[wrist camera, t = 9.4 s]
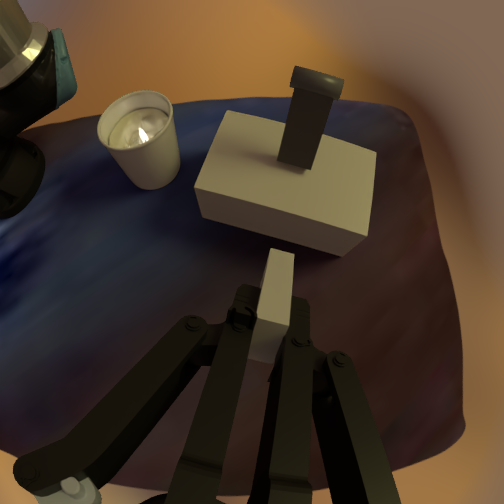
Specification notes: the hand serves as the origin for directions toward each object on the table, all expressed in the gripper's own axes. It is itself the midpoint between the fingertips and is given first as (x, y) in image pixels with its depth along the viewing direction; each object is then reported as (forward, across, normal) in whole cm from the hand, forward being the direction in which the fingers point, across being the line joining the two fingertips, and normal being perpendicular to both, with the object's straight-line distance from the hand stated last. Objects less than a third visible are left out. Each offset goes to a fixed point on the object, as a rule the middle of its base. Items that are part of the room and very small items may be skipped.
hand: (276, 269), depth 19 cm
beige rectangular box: (+25, 0, -4) cm, 26 cm away
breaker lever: (+19, 0, +3) cm, 19 cm away
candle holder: (+26, -20, -4) cm, 33 cm away
